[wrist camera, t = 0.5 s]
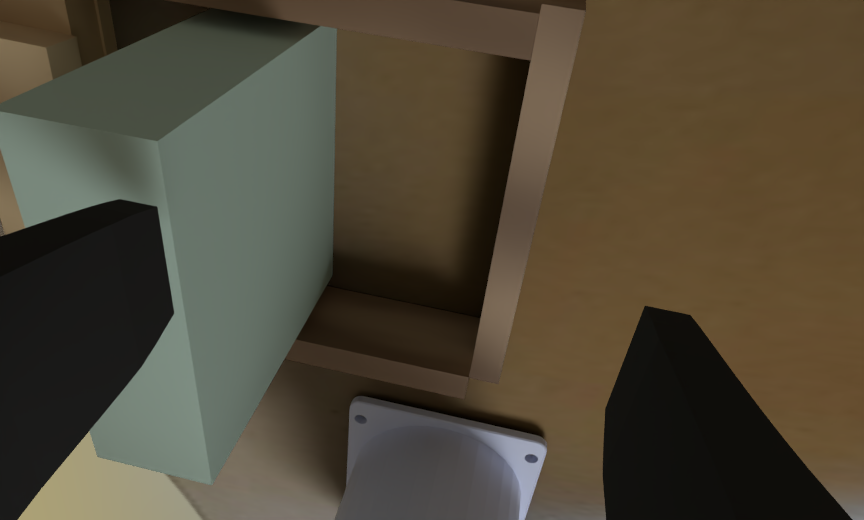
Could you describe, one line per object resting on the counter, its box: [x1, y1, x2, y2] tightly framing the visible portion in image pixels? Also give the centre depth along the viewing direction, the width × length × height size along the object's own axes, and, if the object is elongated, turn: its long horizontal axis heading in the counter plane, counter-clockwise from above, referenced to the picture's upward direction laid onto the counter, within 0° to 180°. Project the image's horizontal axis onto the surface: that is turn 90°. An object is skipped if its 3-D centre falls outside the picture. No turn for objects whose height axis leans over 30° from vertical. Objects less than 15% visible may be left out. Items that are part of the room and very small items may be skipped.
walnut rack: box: [166, 0, 586, 399], centre depth 19 cm, size 12×17×3 cm
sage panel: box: [0, 8, 337, 485], centre depth 16 cm, size 9×3×9 cm, turn 174°
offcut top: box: [0, 21, 82, 235], centre depth 19 cm, size 7×3×1 cm, turn 172°
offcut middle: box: [0, 0, 104, 66], centre depth 20 cm, size 8×3×1 cm, turn 173°
